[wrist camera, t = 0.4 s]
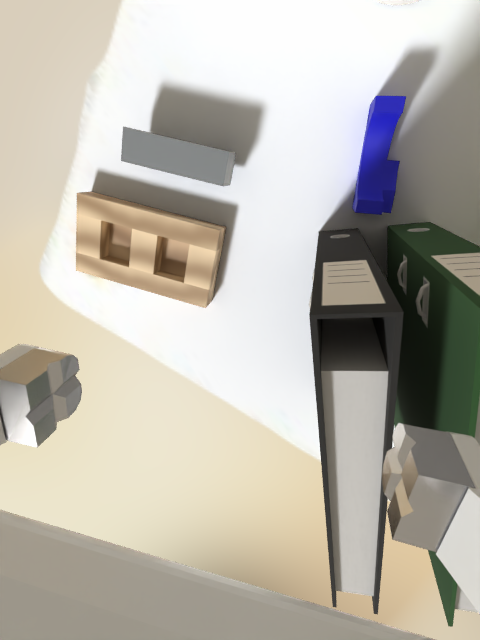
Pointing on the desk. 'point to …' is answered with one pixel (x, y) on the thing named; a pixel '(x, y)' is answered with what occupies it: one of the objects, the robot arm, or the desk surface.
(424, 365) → the binder
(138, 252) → the socket block
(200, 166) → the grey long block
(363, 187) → the blue arch block
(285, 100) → the desk surface
